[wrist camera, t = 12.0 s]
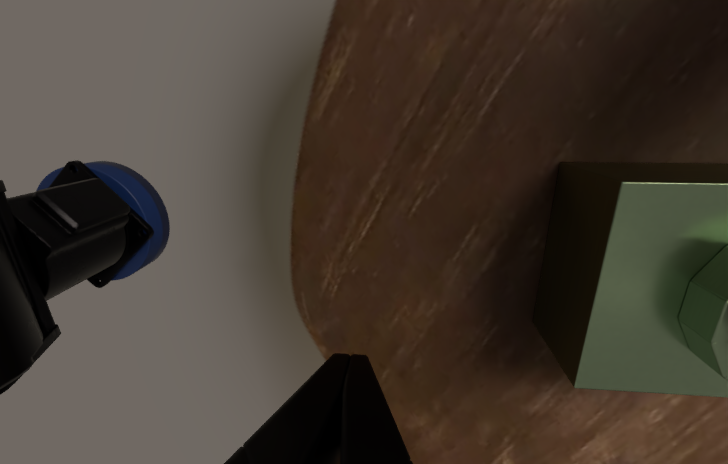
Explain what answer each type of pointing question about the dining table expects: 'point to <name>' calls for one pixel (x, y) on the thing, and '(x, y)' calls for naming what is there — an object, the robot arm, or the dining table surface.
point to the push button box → (638, 277)
